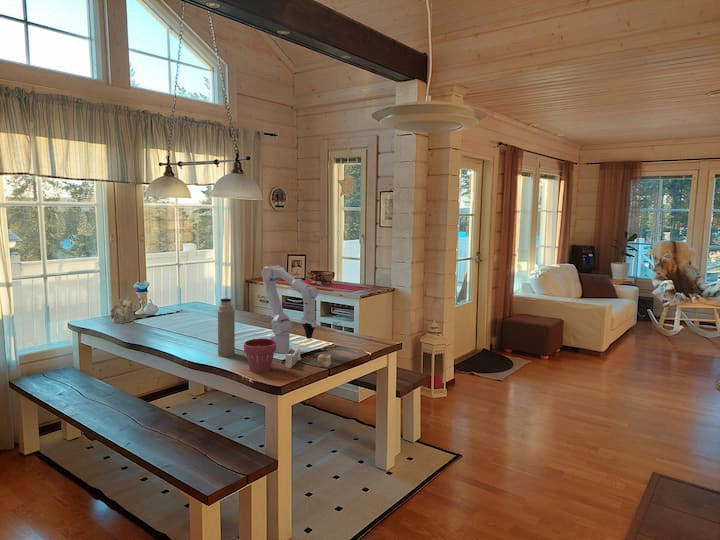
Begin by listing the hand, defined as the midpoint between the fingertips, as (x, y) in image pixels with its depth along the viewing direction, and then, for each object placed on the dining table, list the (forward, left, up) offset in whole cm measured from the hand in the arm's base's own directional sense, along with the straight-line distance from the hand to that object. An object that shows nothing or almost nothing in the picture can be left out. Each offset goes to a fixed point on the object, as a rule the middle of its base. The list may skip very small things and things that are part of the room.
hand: (308, 338), depth 244 cm
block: (+11, -10, -10) cm, 18 cm away
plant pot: (-15, -25, -10) cm, 31 cm away
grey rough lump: (-136, +40, -10) cm, 142 cm away
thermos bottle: (-40, -8, -10) cm, 42 cm away
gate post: (-4, -5, -9) cm, 11 cm away
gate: (-3, -12, -9) cm, 15 cm away
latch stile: (-4, -15, -9) cm, 19 cm away
